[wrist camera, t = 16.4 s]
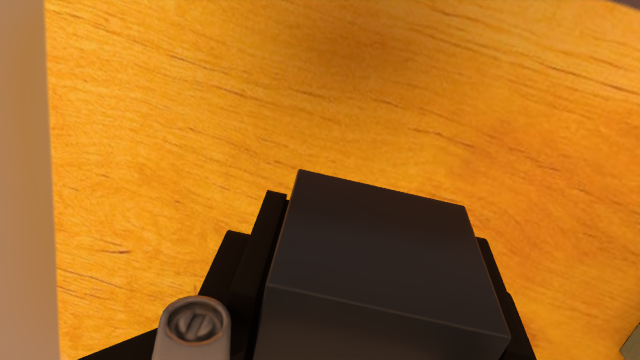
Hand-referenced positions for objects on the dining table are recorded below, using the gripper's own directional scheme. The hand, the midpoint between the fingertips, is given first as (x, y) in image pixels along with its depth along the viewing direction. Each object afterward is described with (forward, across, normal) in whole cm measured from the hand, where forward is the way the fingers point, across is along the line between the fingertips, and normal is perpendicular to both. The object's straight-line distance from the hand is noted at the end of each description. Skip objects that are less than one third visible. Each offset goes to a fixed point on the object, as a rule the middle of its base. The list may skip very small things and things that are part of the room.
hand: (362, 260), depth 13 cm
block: (0, 0, 0) cm, 0 cm away
